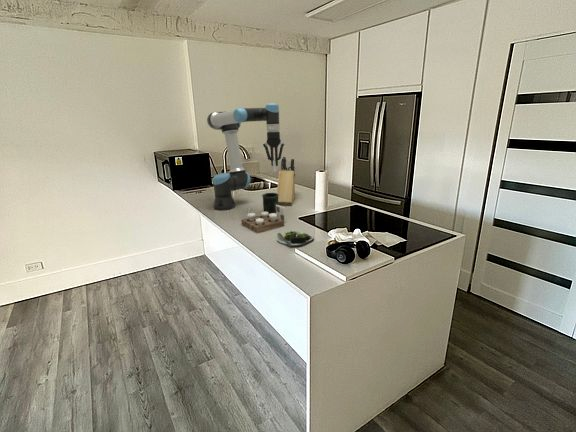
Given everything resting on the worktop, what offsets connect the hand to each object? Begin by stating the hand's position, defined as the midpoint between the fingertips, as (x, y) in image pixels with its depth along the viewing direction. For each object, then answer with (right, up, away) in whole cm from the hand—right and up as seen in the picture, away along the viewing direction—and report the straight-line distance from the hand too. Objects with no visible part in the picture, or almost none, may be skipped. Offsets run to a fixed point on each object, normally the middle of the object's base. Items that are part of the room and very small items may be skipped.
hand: (274, 171), depth 191 cm
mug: (-3, -25, +17) cm, 30 cm away
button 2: (-8, -34, -14) cm, 38 cm away
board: (-7, -33, -8) cm, 34 cm away
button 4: (-1, -31, -10) cm, 32 cm away
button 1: (-13, -31, -8) cm, 34 cm away
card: (+5, -30, 0) cm, 30 cm away
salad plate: (+12, -40, -31) cm, 52 cm away
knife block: (+7, -15, +45) cm, 48 cm away
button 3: (-6, -30, -2) cm, 30 cm away
